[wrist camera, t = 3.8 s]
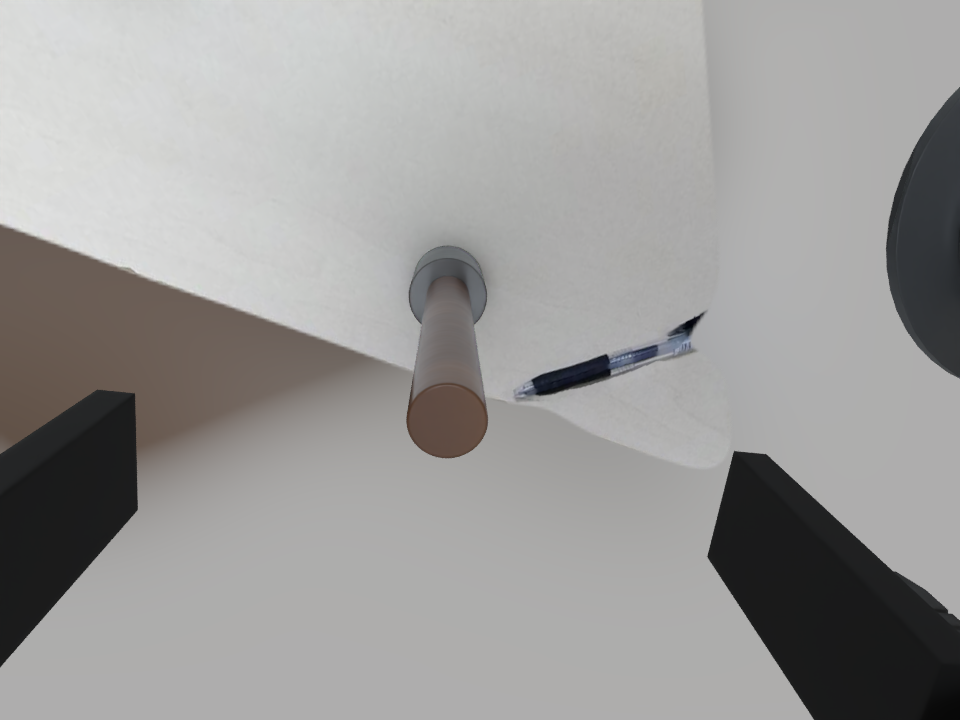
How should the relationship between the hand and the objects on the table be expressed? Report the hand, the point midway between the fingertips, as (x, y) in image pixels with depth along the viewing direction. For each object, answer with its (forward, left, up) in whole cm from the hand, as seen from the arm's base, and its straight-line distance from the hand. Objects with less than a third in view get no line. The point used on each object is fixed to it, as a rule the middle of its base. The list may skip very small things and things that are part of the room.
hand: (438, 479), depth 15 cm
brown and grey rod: (0, 0, -25) cm, 25 cm away
